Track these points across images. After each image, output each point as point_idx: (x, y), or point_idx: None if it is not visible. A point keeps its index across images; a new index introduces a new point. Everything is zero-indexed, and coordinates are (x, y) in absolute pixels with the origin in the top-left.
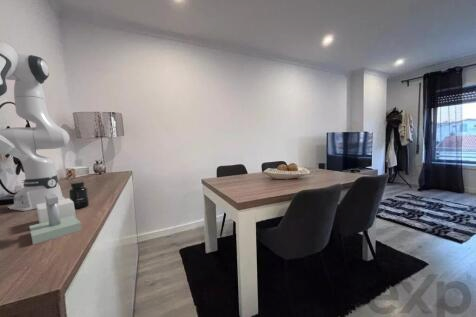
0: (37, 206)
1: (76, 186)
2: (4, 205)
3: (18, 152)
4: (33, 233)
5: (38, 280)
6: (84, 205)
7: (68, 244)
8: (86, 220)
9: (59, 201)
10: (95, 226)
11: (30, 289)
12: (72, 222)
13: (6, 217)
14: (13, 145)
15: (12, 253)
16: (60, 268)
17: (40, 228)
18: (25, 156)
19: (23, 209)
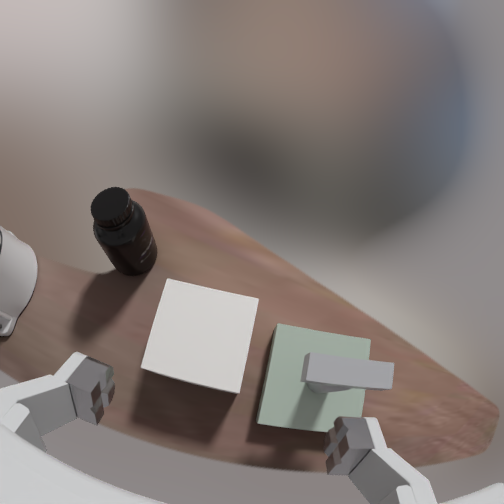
0: (180, 378)
1: (127, 220)
2: None
3: (410, 475)
4: None
5: (478, 427)
6: (156, 249)
7: (413, 383)
8: (296, 308)
9: (186, 315)
10: (366, 316)
11: (486, 433)
12: (349, 350)
13: (22, 380)
14: (493, 495)
15: None
16: (474, 405)
17: (316, 411)
18: (376, 433)
19: (6, 333)
